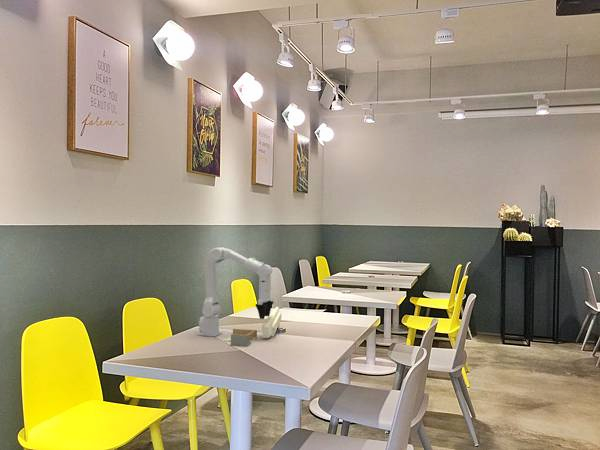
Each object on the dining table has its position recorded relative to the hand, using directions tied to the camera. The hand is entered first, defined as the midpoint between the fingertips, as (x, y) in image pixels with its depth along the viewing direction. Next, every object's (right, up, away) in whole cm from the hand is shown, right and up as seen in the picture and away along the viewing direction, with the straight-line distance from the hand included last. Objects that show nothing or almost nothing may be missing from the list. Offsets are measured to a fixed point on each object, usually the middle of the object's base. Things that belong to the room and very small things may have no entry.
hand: (264, 317), depth 246 cm
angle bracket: (-10, -10, -14) cm, 20 cm away
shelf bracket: (+3, -11, +9) cm, 14 cm away
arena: (-11, -10, -3) cm, 15 cm away
